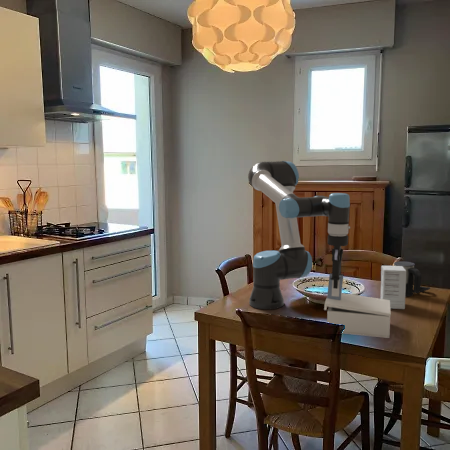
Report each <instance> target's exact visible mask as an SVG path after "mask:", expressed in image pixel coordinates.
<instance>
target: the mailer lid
mask: <svg viewBox="0 0 450 450" xmlns="http://www.w3.org/2000/svg"><path fill="white" fill-rule="evenodd" d="M330 278H332V273H329V277H328V286H327V287H328V288H327V295H326V299H325V302H324V306H323V307H324V308H323V310H324V311H327V310H328V309H327V308H329V307H334V308H340V309H347V310H353V311H359V312H366V313H372V314H378V315H385V316H390V317H391V315H392V314H391V308H390V300H385V299H380V297H379V298H378V297H377V298H376V297H371V296H364V295H357V294H351V293H345V292H343V291H342V290H343V282H344V275H343V274H342V275H339V278H340V279H339V280H340V284H339V297H336V296H332V280H330ZM342 292H343V293H342Z"/></svg>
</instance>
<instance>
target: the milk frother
mask: <svg viewBox="0 0 450 450" xmlns="http://www.w3.org/2000/svg"><path fill="white" fill-rule="evenodd" d="M393 266H403V267H404V269H405V270H406V291H405V297H413V296H414V294H418V293H423V292H426V291H429V290H430V289H431V287H430V286H427V287H426V286H421V285H422V273H421V271H420V270H419V269H417V268H415V263H414V262H411V261H395V262H393Z"/></svg>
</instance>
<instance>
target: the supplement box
mask: <svg viewBox="0 0 450 450" xmlns="http://www.w3.org/2000/svg"><path fill="white" fill-rule="evenodd" d="M380 270H381V271H380V297H379V299H385V300H390V309H392V310H393V309H395V310H396V309H397V310H405V308H406V296H405V291H406V270H405V269H404V267H403V266H394V265H381V266H380Z"/></svg>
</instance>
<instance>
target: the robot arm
mask: <svg viewBox="0 0 450 450" xmlns="http://www.w3.org/2000/svg"><path fill="white" fill-rule="evenodd" d="M247 176H248V177H247V178H248V182H249V185H250V186H251V187H252V188H253V189H254V190H255V191H259V192H261V193H263V194H264V195H265V196H266V197H268V198H269V199H270V200H271V201H272V202H273V203H275V210H276V216H277V223H278V224H277V225H278V229H279V230H278V231H279V236H280V237H279V238H280V244H281V245H280V248H279V249H278V250H273V249H272V250H263V251H260V252H256V254H254V256H253V260H252V261H253V262H252V268H253V273H252V276H253V280H252V281H253V283H252V284H253V285H252V286H253V287H252V290H251V293H250V295H249V305H250V306H251V307H252V308H255V309H260V310H275V309H280V308H282V307H283V306H284V304H285V303H284V302H285V301H284V297H283V293H282V290H281V283H280V282H281V280H291V279H300V278H304V277H308V276H309V274H310V272H311V270H312V268H313V267H312V266H313V258H312V255H311V253H310V252H309V251H307V250H306V248H305V245H303V244H302V243H301V237H300V231H299V224H298V218H306V217H307V218H309V217H320V216H321V217H328V218H327V219H328V221H327V233H328V235H327V244H328V245H329V246H332V247H333V248H331V255H332V256H331V261H332V265H331V266H332V267H331V268H332V269H331V272H332V273H331V274H332V278H330V280H332V296H336V297H339V284H340V280H339V279H340V278H339V275H343V274H342V261H343V254H344V248H342V247H346V246H348V245H349V236H348V234H349V230H350V229H351V226H350V225H349V224H350V223H349V221H350V211H351V209H350V208H351V201H350V200H351V199H350V194H348V193H344V192H343V193H342V192H333V193H330V194H329V196H324V195H315V196H311V197H309V196H307V197H299V196H297V195H296V194H295V193H294V191H295V189H296V186H297V185H298V183H299V178H300V174H299V170H298V168H297V165H295V164H294V163H293V162H292V161H286V160H281V161H280V160H278V161H259V162H257V163H255V164H254V165H253V166H251V168H250V169H249V172H248V175H247Z"/></svg>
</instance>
